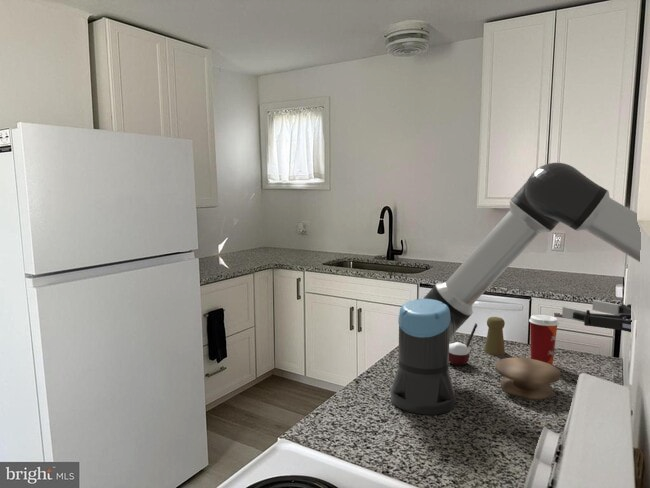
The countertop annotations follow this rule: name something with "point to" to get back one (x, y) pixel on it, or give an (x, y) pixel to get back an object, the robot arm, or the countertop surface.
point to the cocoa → (460, 351)
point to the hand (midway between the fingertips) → (578, 308)
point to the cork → (495, 336)
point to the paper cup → (543, 337)
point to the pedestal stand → (527, 377)
